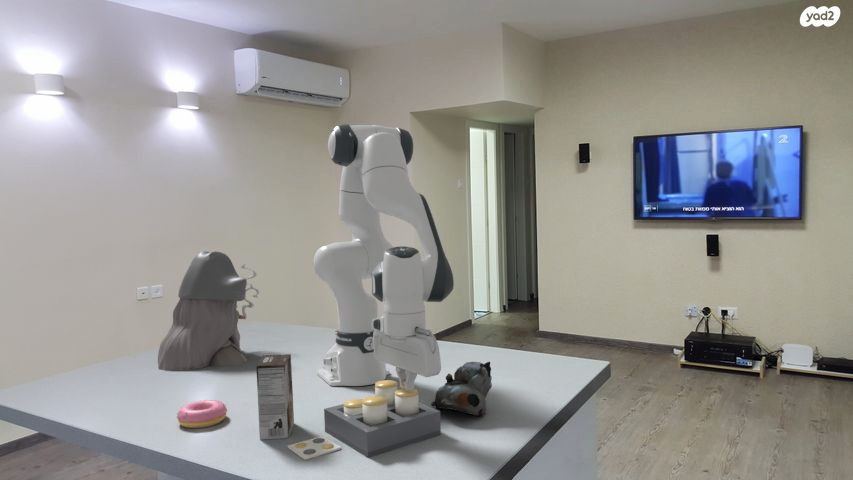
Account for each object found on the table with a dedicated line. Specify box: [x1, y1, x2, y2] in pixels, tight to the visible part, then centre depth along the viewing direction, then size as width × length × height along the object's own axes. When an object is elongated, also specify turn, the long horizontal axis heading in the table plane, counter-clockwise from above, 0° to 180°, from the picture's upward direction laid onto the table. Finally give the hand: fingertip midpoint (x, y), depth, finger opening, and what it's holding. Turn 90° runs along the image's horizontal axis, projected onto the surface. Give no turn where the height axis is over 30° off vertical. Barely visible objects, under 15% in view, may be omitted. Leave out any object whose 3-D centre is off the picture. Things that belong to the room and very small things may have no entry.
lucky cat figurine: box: [430, 361, 493, 418], centre depth 144 cm, size 15×12×14 cm
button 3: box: [374, 379, 399, 407], centre depth 137 cm, size 5×5×5 cm
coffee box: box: [255, 353, 295, 441], centre depth 134 cm, size 9×6×16 cm
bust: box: [157, 250, 260, 372], centre depth 202 cm, size 34×34×35 cm
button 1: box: [343, 398, 364, 416], centre depth 132 cm, size 5×5×5 cm
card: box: [287, 435, 342, 461], centre depth 125 cm, size 8×8×1 cm
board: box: [323, 402, 442, 458], centre depth 132 cm, size 18×18×5 cm
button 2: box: [362, 395, 388, 427], centre depth 126 cm, size 5×5×5 cm
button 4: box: [395, 388, 420, 418], centre depth 131 cm, size 5×5×5 cm
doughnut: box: [176, 399, 228, 429], centre depth 142 cm, size 11×11×4 cm
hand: (407, 388), depth 130 cm, fingers closed
